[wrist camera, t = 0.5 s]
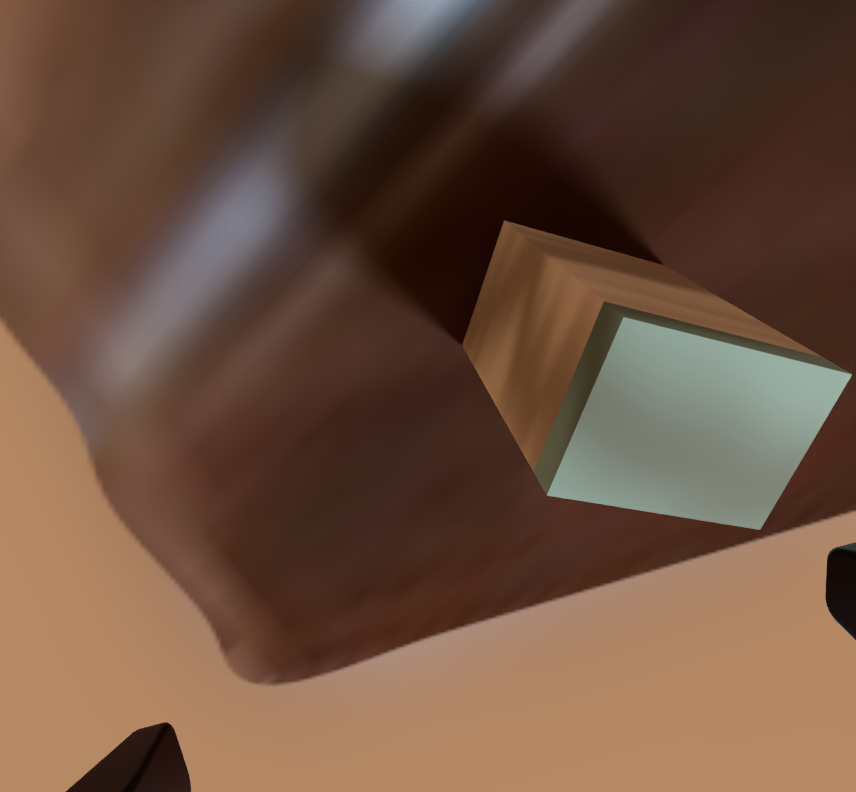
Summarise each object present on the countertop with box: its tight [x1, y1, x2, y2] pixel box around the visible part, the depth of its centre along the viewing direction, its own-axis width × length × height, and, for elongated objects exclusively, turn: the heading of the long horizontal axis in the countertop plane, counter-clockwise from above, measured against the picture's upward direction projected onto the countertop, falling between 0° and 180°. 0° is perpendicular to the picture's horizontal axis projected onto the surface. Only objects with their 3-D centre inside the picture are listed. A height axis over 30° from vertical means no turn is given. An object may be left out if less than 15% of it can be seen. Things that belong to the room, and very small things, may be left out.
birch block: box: [462, 221, 852, 530], centre depth 19 cm, size 4×6×9 cm
